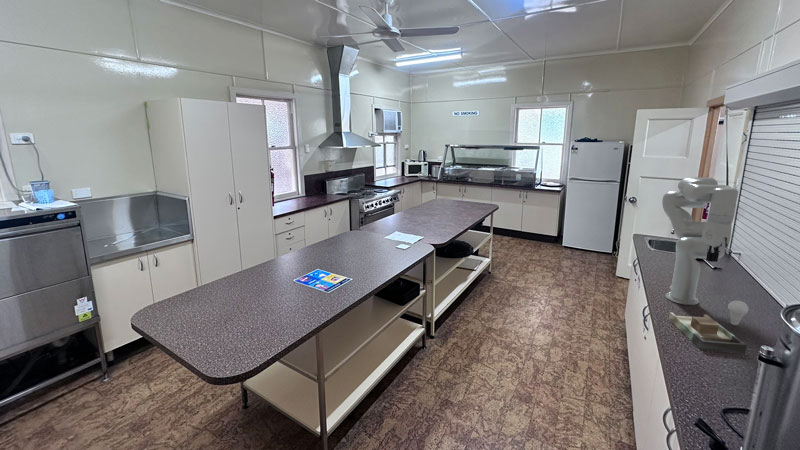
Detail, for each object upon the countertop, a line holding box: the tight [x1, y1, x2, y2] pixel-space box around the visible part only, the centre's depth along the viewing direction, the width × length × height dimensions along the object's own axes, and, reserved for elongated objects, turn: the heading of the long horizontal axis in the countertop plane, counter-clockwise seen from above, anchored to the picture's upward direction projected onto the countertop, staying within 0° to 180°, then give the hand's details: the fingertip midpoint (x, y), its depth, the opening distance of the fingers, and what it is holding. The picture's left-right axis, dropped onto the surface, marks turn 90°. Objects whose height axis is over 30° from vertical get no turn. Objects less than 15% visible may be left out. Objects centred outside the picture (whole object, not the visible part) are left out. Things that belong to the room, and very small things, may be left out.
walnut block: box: [691, 316, 719, 335], centre depth 140 cm, size 6×6×4 cm
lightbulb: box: [727, 300, 749, 326], centre depth 146 cm, size 6×6×11 cm
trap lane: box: [668, 312, 748, 354], centre depth 140 cm, size 23×14×4 cm, turn 169°
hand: (711, 260), depth 145 cm, fingers closed
